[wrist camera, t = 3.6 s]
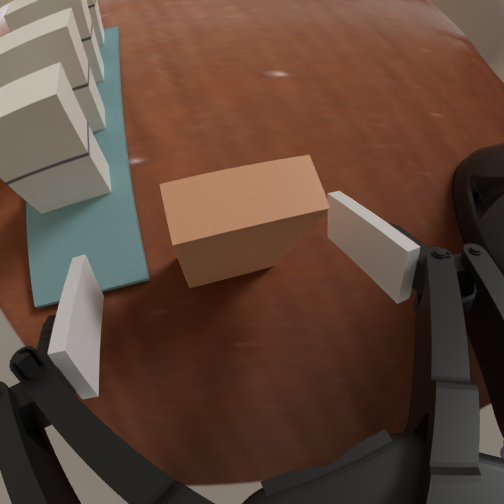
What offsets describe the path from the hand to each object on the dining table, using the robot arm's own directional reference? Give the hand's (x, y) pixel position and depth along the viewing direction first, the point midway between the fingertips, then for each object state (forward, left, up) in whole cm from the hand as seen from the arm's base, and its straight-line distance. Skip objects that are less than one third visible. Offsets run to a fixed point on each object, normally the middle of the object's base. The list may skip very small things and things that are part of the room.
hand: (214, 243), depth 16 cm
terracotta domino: (0, -1, -6) cm, 6 cm away
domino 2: (+17, +2, -5) cm, 18 cm away
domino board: (+17, +2, -6) cm, 18 cm away
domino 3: (+11, +5, -5) cm, 13 cm away
